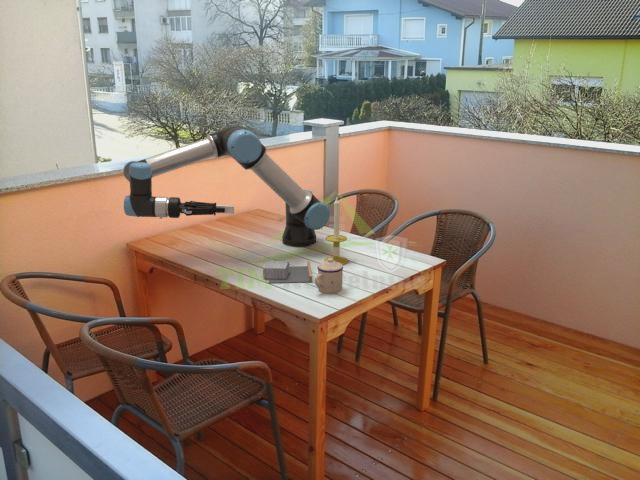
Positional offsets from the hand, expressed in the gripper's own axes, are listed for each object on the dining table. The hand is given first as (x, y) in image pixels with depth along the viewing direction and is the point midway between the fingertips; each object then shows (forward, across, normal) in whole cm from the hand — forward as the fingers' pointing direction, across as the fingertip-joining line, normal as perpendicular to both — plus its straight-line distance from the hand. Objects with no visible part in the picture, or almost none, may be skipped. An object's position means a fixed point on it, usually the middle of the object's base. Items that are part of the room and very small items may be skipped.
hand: (233, 209), depth 218 cm
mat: (+22, +3, -24) cm, 33 cm away
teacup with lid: (+34, +19, -24) cm, 46 cm away
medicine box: (+12, +3, -22) cm, 25 cm away
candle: (+41, -11, -23) cm, 48 cm away
